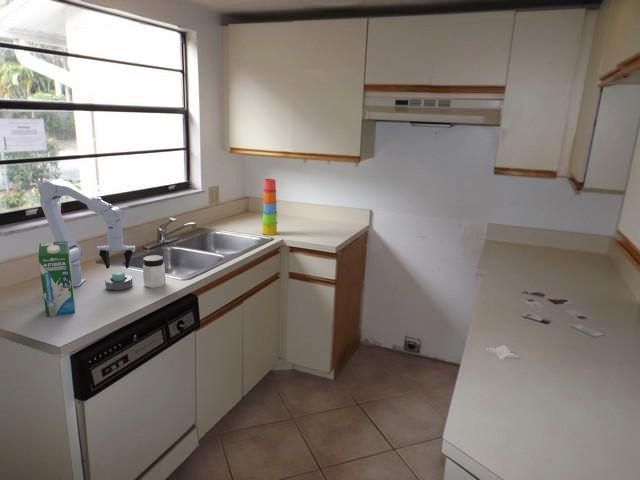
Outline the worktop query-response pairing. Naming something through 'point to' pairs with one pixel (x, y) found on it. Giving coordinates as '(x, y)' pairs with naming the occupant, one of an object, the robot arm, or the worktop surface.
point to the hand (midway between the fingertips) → (117, 267)
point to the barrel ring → (118, 284)
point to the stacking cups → (269, 208)
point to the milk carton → (56, 278)
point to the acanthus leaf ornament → (502, 352)
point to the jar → (153, 271)
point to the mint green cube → (118, 276)
